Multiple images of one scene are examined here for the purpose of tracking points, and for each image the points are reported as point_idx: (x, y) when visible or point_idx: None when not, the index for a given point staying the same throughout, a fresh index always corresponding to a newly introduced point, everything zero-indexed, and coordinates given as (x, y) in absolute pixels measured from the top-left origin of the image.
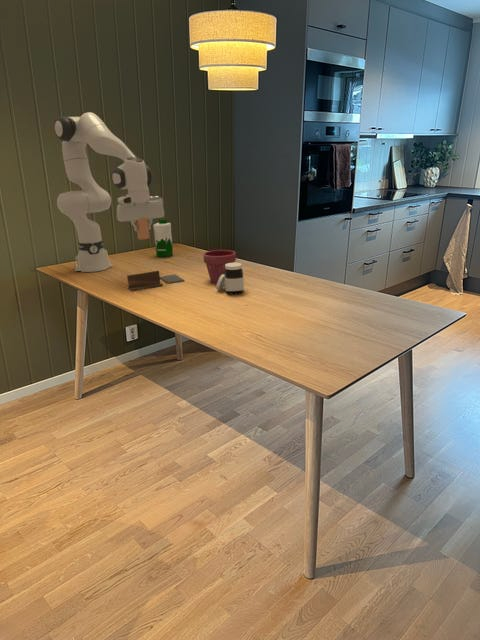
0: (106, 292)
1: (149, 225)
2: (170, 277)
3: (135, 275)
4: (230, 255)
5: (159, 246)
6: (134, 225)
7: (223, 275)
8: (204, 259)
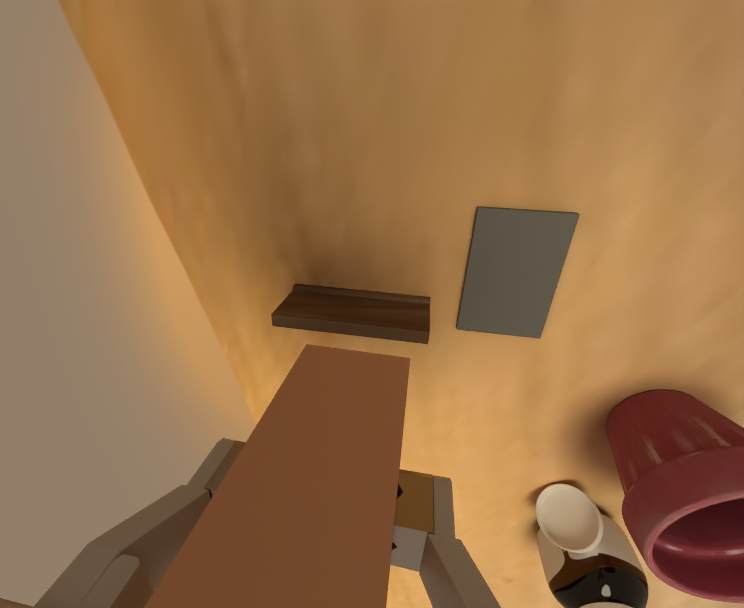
0: (211, 275)
1: (426, 574)
2: (517, 260)
3: (309, 328)
4: (737, 600)
5: None
6: (176, 555)
7: (579, 552)
8: (639, 504)
